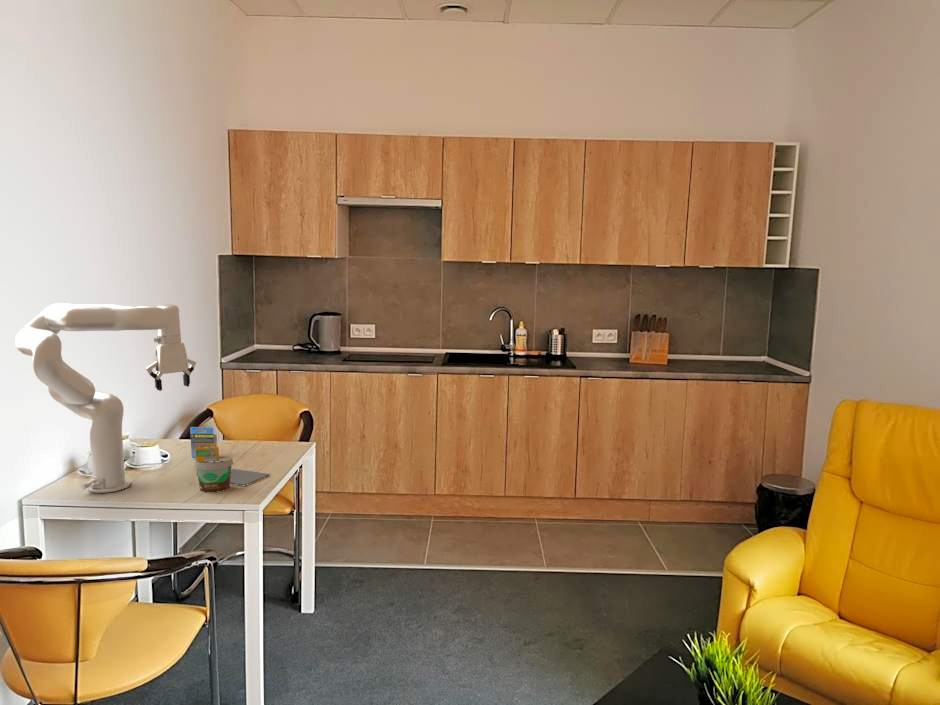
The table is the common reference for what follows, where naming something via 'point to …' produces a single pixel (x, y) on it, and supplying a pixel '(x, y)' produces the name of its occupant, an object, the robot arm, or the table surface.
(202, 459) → the crayon box
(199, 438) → the label tape box
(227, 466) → the food container
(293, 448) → the table surface
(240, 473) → the mat
